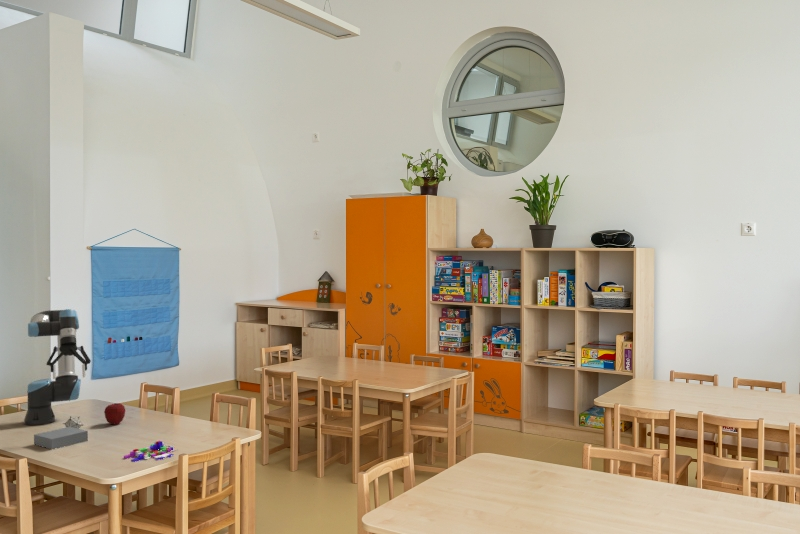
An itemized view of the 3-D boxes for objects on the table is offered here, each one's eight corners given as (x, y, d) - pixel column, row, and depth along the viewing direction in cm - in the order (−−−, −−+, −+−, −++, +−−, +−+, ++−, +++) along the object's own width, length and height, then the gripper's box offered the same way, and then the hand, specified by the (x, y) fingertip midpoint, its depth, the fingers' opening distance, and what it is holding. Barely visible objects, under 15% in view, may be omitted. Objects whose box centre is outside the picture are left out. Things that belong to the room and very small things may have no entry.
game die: (77, 438, 344) (90, 421, 347) (68, 436, 336) (81, 419, 339) (65, 428, 347) (78, 412, 349) (56, 426, 339) (69, 410, 341)
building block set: (143, 465, 286) (143, 455, 286) (117, 457, 298) (117, 448, 298) (191, 452, 306) (191, 442, 306) (166, 445, 319) (166, 436, 318)
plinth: (34, 444, 319) (33, 434, 319) (69, 436, 334) (69, 426, 334) (51, 449, 310) (51, 439, 310) (87, 440, 325) (87, 430, 325)
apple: (109, 421, 365) (109, 400, 365) (128, 421, 365) (128, 400, 365) (100, 426, 354) (100, 405, 354) (120, 426, 354) (120, 404, 354)
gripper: (42, 335, 330) (42, 376, 322) (95, 335, 344) (97, 373, 336) (40, 341, 335) (40, 381, 327) (92, 340, 350) (94, 378, 342)
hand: (69, 377), depth 332 cm, fingers open, 13 cm apart
